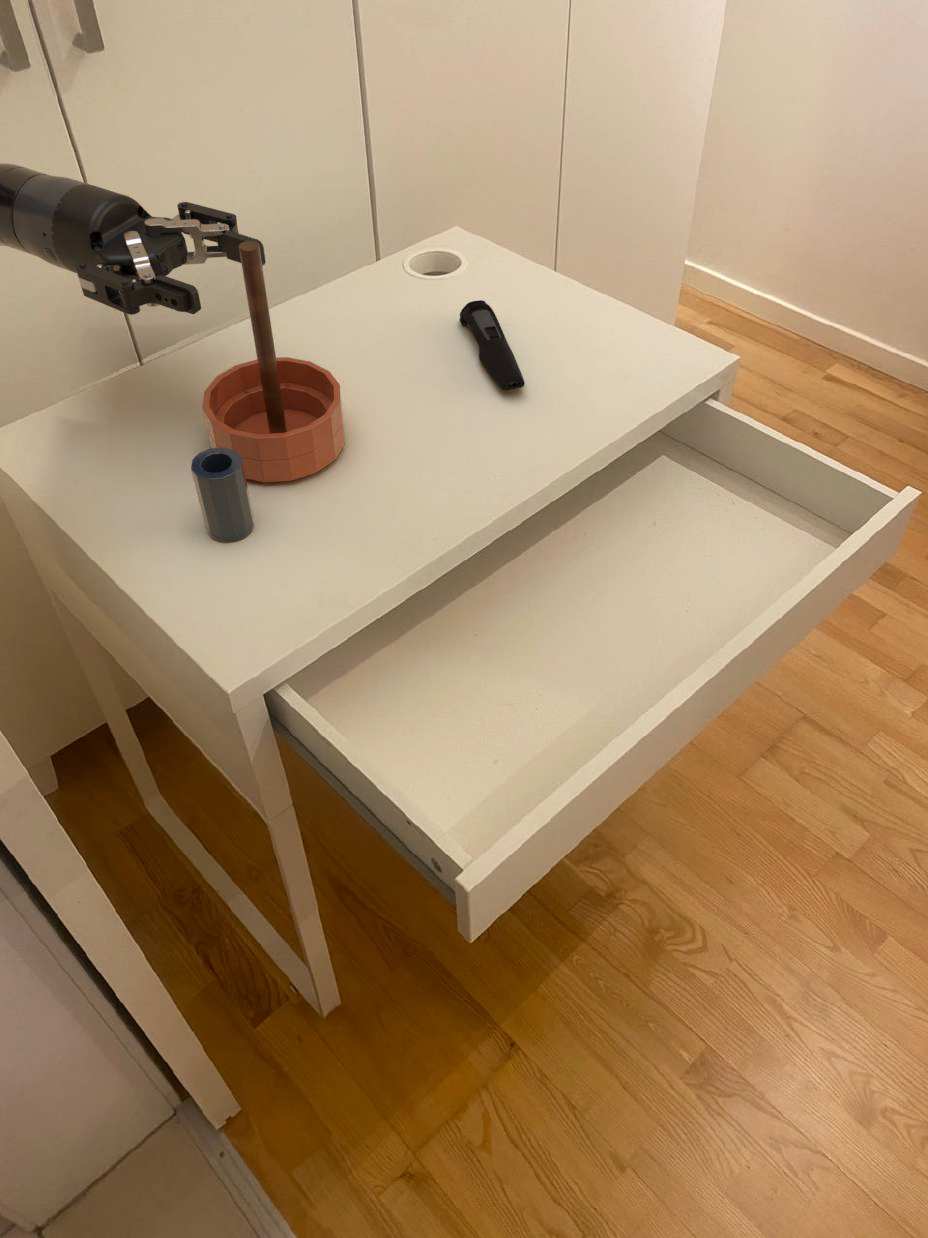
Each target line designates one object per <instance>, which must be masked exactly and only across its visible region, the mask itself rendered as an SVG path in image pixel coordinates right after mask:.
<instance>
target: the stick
mask: <svg viewBox="0 0 928 1238" xmlns="http://www.w3.org/2000/svg"><path fill="white" fill-rule="evenodd" d="M239 252H240V258H241V263H240V264H241V267H242V268H241V269H242V275H243V281H244V287H245V292H246V299H247V306H248V313H249V316H250V323H251V329H252V335H253V342H254V347H255V354H256V359H257V360H258V366H259V372H260V378H261V384H262V390H263V396H264V402H265V408H266V414H267V420H268V426H269V432H270V434H271V433H285V432H287V428H286V421H285V415H284V408H283V401H282V395H281V388H280V381H279V374H278V368H277V361H276V358H277V355H276V348H275V343H274V342H275V341H274V335H273V328H272V321H271V316H270V315H271V314H270V308H269V302H268V294H267V287H266V281H265V274H264V268H263V266H262V261H261V254H260V247H259V244H258V243H257V242H254V241H246V242H243V243H241V244H240V245H239Z"/></svg>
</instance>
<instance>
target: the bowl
mask: <svg viewBox="0 0 928 1238" xmlns="http://www.w3.org/2000/svg"><path fill="white" fill-rule="evenodd" d="M276 361H277V368H278V374H279V381H280V388H281V395H282V401H283V408H284V415H285V421H286V428H287V432H285V433H271V434H270V432H269V426H268V420H267V414H266V408H265V402H264V396H263V390H262V384H261V378H260V372H259V366H258V360H257V358H256V359H253V360H249V361H246V362H243V363H238V364H236V365H233V366H232V367H230V368H228V369H227V370H224V371H223V372H222V373H220V374H218V375H217V376H215V377H214V379H213V380H212V381H211V382H210V383H209V385H208V386H207V387H206V389H205V390H204V391H203V396H202V397H203V399H202V405H201V406H202V407H201V408H202V412H203V416H204V421H205V426H206V430H207V435H208V440H209V443H210V448H228V449H232V450H235V451H236V452H237V453H238V454H239V455H240V456H241V457H242V461H243V466H244V471H245V476H246V480H252V481H257V482H262V483H273V482H289V481H294V480H298V479H300V478H305V477H307V476H311V475H313V474H316V473H318V472H319V471H321V470H322V469H324V468H325V467H327V466H328V465H329V464H331V463H332V462H334V461H335V460H336V459H337V457H338V456H339V454H340V452H341V451H342V449H343V448H344V446H345V444H346V441H345V439H346V438H345V424H344V412H343V411H344V410H343V401H342V392H341V384H340V383H339V382H338V380H337V379H336V378H335V376H334V375H333V374H332V373H331V371H329V370H328V369H326V368H324V367H322V366H320V365H318V364H316V363H314V362H312V361H309V360H304V359H300V358H294V357H287V356H283V357H282V356H281V357H279V356H278V357H276Z"/></svg>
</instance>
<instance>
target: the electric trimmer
mask: <svg viewBox="0 0 928 1238" xmlns="http://www.w3.org/2000/svg"><path fill="white" fill-rule="evenodd" d="M459 323H460V324H461V325H462V326H466V325H467V326H468V328H469V330H470V331H471V333H472V336H473V337H474V340H475V341H476V344H477V347H478V358H479V361H480V363H481V364H482V366H483V368H484V369H485V370H486V371H487V373H488V374H489V376H490V377H491V378H492V380H494V382H495V383H496V385H497V386H498V387H499V389H500V390H502V391H509V390H515V389H522V388H524V387H525V379H524V377H523V373H522V371H521V369H520V367H519V364H518V361H517V360H516V357H515V355H514V352H513V350H512V349H511V346H510V344H509V343H508V341H507V338H506V336H505V334H504V331H503V329H502V327H501V324H500V322H499V320H498V318H497V315H496V314H495V312H494V310H493V308H492V307H491V306H490V305H489V304H488V303H487V302H486V301H485V300H482V299H480V300H473V301H470V302H467V303H466V304H465V305H464V306H463V308H462V309H461V311H460V313H459Z"/></svg>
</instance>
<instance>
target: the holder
mask: <svg viewBox="0 0 928 1238" xmlns="http://www.w3.org/2000/svg"><path fill="white" fill-rule="evenodd" d="M190 471H191V475H192V479H193V482H194V487H195V491H196V495H197V498H198V503H199V506H200V511H201V515H202V519H203V522H204V527H205V529H206V531H207V534H208V535H209V537H210V538H211V539H212V540H214V541H217V542H220V543H235V542H239V541H241V540H243V539H246V538H247V537H248V536H249V535H251V533H252V532H253V530H254V528H255V521H254V513H253V512H254V511H253V507H252V502H251V497H250V491H249V487H248V482H247V478H246V476H245V471H244V466H243V461H242V457H241V456H240V455H239V454H238V453H237V452H236V451H235V450H232V449H228V448H211V447H210V448H208V449H205V450H203V451H200V452H198V453H197V455H196V456H194V458H193V459H192V460H191V465H190Z"/></svg>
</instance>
